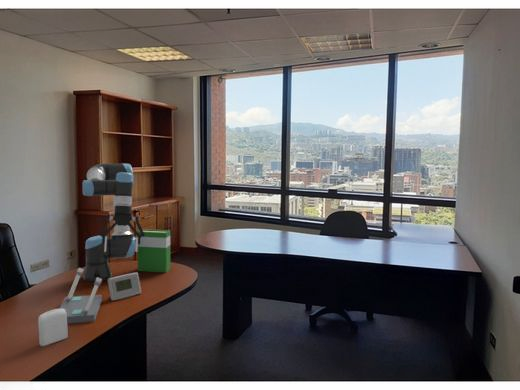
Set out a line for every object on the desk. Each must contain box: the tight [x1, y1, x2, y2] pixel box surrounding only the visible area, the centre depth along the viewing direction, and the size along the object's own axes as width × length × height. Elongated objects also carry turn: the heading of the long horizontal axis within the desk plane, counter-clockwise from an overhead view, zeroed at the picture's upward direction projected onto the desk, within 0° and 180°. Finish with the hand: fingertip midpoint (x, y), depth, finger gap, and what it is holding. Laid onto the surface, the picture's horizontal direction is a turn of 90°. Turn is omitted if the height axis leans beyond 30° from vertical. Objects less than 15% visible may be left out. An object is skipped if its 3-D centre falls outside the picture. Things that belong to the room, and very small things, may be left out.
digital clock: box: [107, 272, 142, 301], centre depth 206 cm, size 16×9×11 cm, turn 123°
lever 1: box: [66, 267, 85, 302], centre depth 193 cm, size 2×5×15 cm, turn 15°
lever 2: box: [84, 277, 102, 314], centre depth 180 cm, size 2×5×15 cm, turn 15°
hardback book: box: [136, 228, 171, 273], centre depth 249 cm, size 18×7×24 cm, turn 84°
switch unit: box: [58, 294, 103, 324], centre depth 187 cm, size 16×24×3 cm, turn 14°
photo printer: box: [37, 308, 69, 347], centre depth 159 cm, size 10×4×12 cm, turn 140°
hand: (120, 251), depth 190 cm, fingers open, 13 cm apart
